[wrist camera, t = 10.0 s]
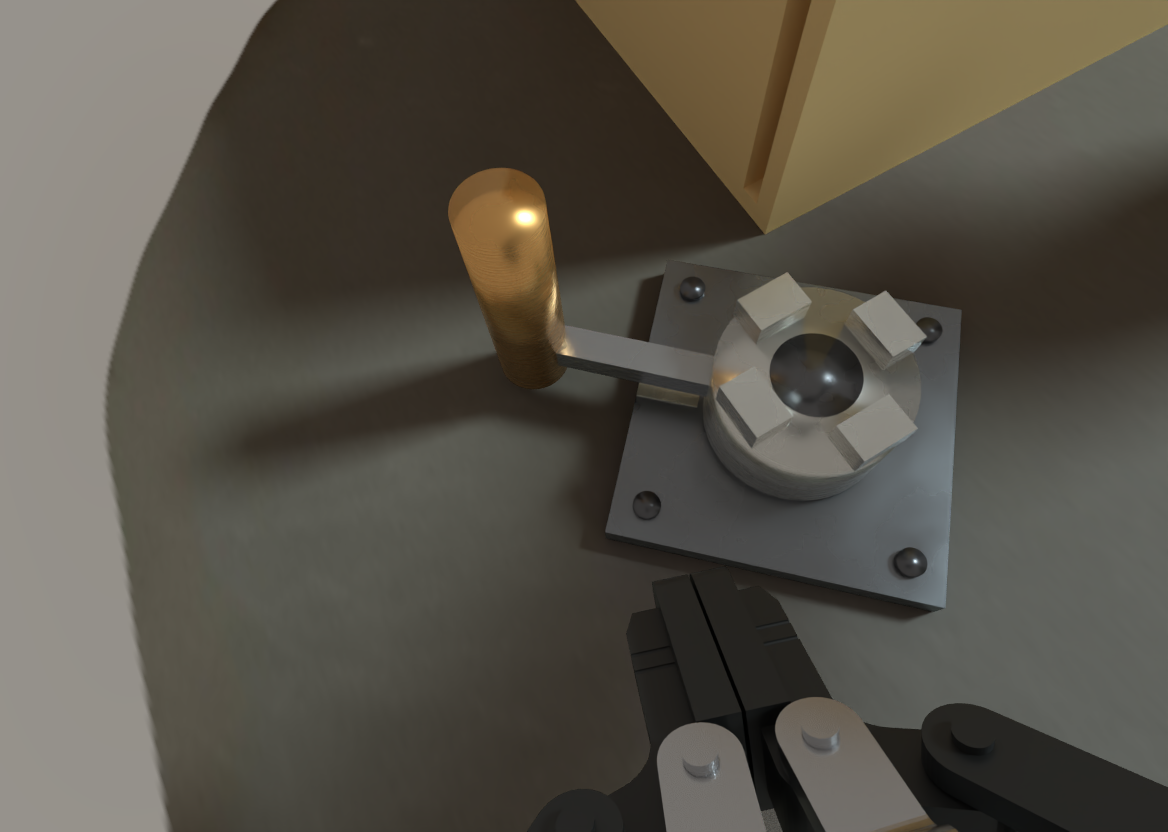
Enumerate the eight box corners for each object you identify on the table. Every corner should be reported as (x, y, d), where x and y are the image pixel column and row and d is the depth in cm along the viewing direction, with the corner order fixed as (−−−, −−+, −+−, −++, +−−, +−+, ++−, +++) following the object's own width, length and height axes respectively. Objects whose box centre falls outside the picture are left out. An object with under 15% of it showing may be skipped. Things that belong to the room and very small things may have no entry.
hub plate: (666, 273, 37) (667, 256, 35) (950, 322, 35) (964, 306, 33) (605, 538, 32) (605, 530, 30) (933, 611, 30) (948, 607, 29)
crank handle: (894, 352, 33) (1017, 194, 23) (875, 519, 30) (1005, 425, 20) (526, 279, 35) (486, 106, 25) (476, 428, 32) (409, 301, 22)
